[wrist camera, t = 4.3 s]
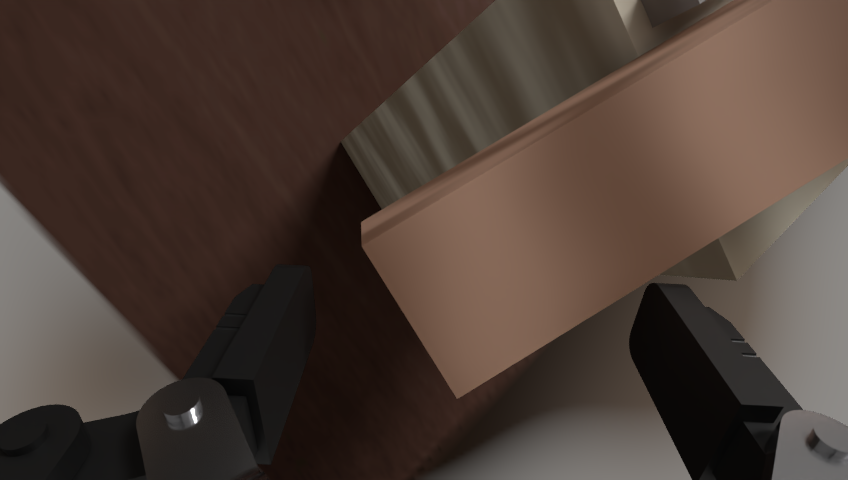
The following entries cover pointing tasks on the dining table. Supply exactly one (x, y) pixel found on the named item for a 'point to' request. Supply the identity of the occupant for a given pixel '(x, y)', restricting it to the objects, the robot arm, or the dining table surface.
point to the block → (616, 184)
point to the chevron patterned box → (540, 103)
